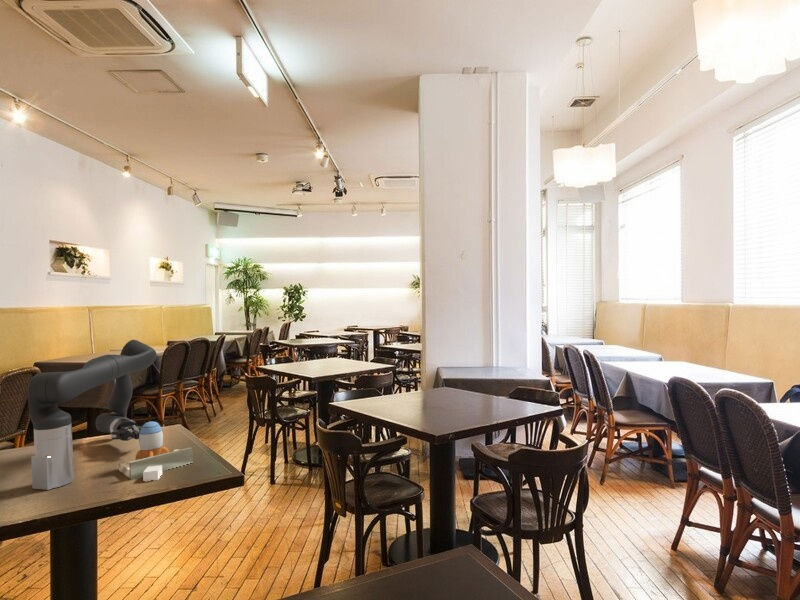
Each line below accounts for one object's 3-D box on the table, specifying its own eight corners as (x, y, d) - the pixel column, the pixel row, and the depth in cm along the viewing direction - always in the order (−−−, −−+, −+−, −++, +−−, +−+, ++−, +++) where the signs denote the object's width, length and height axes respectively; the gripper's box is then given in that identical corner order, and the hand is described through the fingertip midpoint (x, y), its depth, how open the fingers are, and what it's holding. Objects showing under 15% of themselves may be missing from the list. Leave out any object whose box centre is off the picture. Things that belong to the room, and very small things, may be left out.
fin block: (158, 480, 144) (157, 470, 144) (143, 482, 143) (142, 472, 143) (162, 474, 149) (162, 465, 149) (148, 476, 148) (147, 466, 148)
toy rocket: (157, 473, 153) (142, 428, 152) (128, 477, 155) (114, 434, 154) (176, 457, 163) (163, 416, 162) (149, 462, 165) (136, 421, 164)
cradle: (118, 470, 154) (118, 454, 154) (177, 455, 167) (177, 441, 167) (131, 479, 145) (130, 462, 145) (192, 463, 158) (192, 448, 158)
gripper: (143, 434, 185) (159, 442, 173) (104, 442, 176) (117, 451, 164) (142, 415, 185) (158, 421, 173) (103, 422, 176) (116, 429, 164)
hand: (138, 436), depth 168 cm, fingers closed
